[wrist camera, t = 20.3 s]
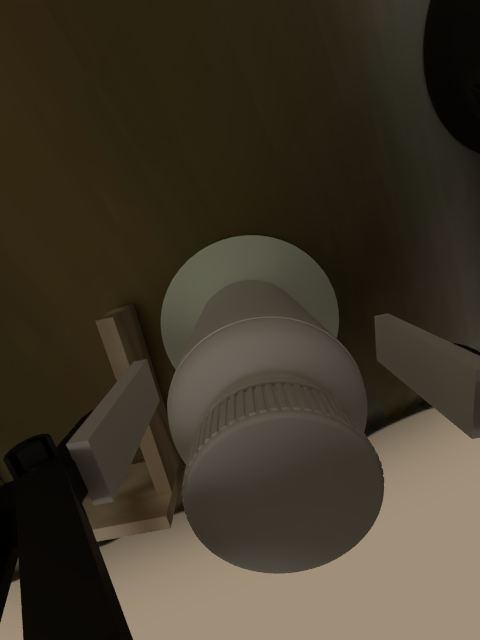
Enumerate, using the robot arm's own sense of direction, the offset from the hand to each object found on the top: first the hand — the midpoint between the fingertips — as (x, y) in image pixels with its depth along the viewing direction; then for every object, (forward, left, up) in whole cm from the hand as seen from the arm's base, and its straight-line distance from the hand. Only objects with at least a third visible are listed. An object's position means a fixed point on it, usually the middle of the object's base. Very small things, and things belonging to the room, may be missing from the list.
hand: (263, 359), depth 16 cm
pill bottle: (0, 0, -6) cm, 6 cm away
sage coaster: (0, 0, -7) cm, 7 cm away
